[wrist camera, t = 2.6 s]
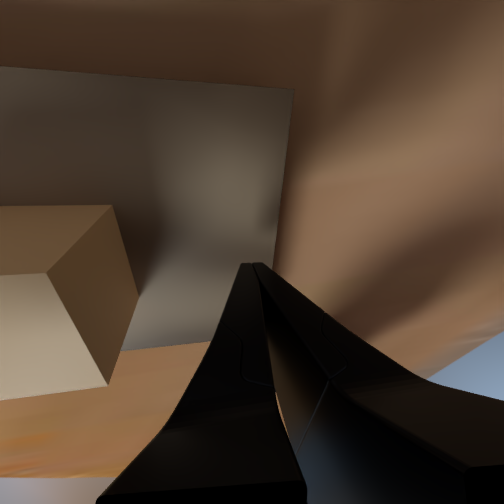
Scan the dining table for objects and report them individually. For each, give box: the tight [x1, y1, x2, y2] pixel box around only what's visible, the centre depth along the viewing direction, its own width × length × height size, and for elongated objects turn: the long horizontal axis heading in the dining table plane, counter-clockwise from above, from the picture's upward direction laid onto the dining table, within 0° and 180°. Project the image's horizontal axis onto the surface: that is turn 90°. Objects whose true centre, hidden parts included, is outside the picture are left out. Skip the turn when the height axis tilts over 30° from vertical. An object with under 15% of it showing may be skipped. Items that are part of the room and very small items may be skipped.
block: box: [0, 205, 139, 400], centre depth 7 cm, size 4×4×4 cm
